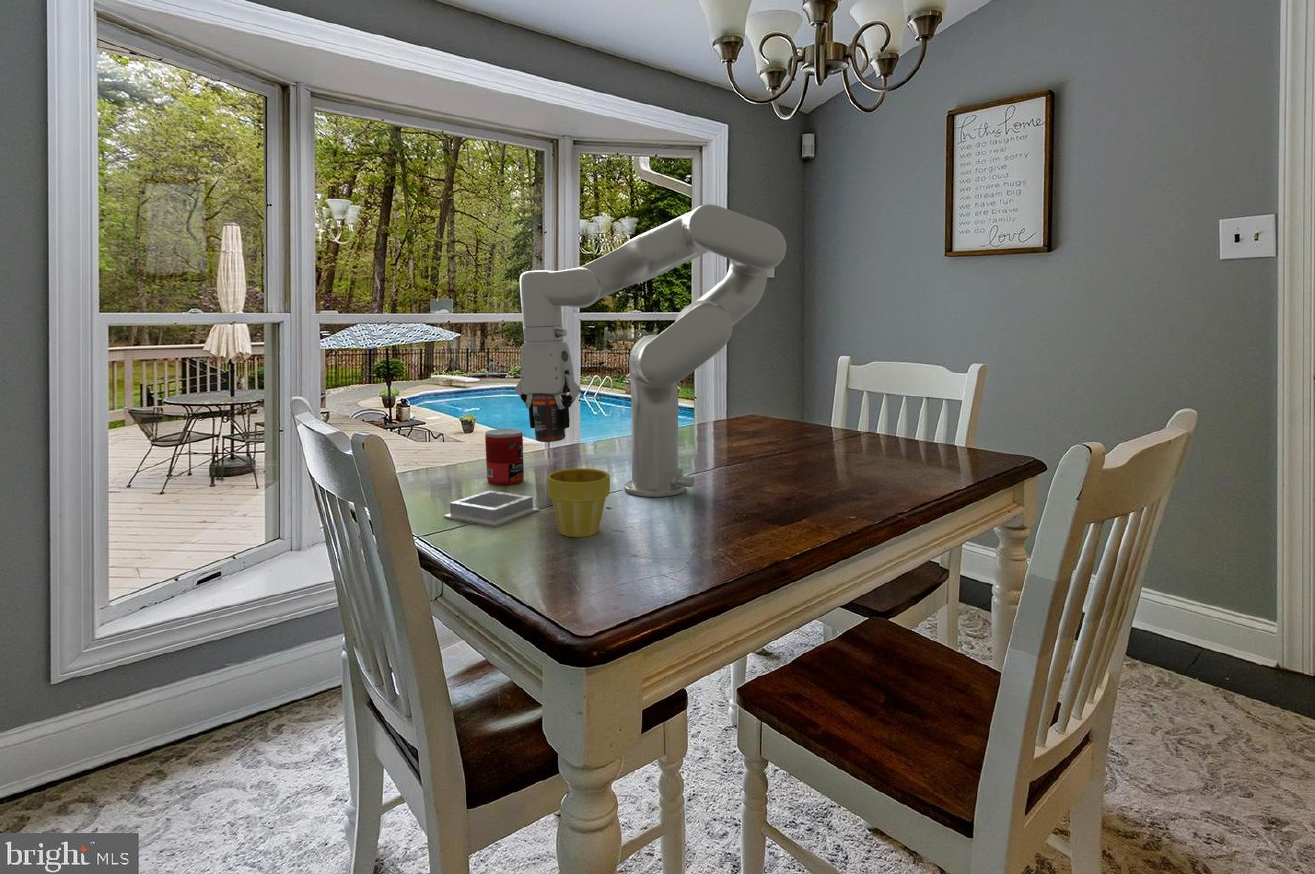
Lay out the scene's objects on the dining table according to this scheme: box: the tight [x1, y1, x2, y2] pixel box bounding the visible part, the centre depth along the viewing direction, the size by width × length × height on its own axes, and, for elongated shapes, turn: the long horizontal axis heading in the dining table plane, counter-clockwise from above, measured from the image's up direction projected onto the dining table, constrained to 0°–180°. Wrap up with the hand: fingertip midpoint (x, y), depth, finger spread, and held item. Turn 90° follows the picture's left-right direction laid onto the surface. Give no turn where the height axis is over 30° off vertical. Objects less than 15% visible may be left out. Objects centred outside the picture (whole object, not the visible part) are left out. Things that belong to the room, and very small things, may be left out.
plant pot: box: [546, 467, 611, 538], centre depth 122 cm, size 10×10×10 cm
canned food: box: [484, 428, 525, 487], centre depth 158 cm, size 8×8×11 cm
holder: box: [443, 489, 540, 528], centre depth 133 cm, size 12×12×3 cm
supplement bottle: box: [533, 393, 566, 443], centre depth 145 cm, size 6×6×11 cm
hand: (549, 426), depth 145 cm, fingers closed on supplement bottle, 6 cm apart
